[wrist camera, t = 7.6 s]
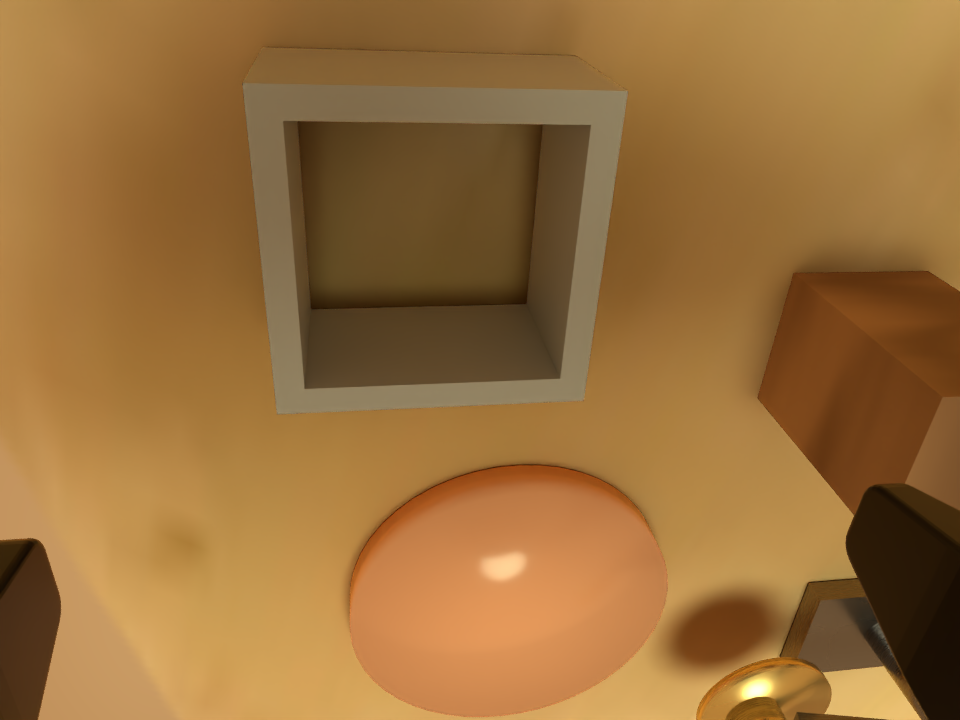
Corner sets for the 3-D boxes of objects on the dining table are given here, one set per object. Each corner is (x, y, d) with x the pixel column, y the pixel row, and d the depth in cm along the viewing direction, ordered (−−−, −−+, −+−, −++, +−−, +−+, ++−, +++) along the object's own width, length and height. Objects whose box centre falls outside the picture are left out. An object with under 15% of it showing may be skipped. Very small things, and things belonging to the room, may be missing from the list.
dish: (680, 456, 23) (695, 482, 22) (629, 672, 28) (639, 701, 27) (344, 474, 21) (344, 503, 20) (354, 699, 27) (354, 731, 26)
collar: (575, 55, 17) (627, 90, 14) (547, 324, 20) (583, 401, 17) (262, 46, 16) (241, 82, 12) (287, 331, 19) (277, 414, 16)
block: (928, 270, 21) (1114, 389, 16) (880, 392, 23) (1032, 532, 18) (793, 272, 20) (942, 396, 15) (757, 397, 22) (878, 544, 17)
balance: (1079, 557, 29) (1252, 712, 23) (1030, 636, 31) (1178, 795, 25) (676, 589, 26) (764, 773, 21) (654, 673, 28) (728, 858, 23)
